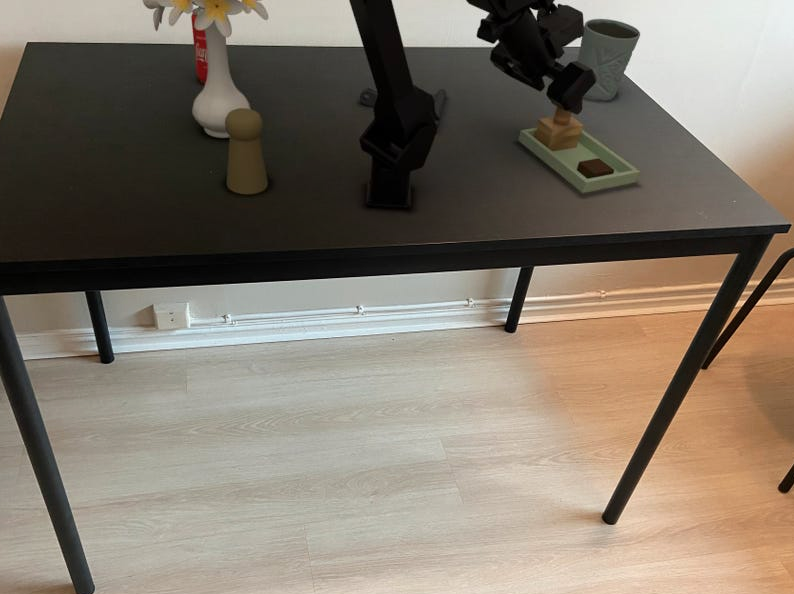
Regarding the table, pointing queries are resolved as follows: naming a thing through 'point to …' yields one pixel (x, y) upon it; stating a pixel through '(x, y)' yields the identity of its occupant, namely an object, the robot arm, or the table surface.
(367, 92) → the bracket
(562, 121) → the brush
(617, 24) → the grey-green cup
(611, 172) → the dark brown block
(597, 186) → the tray
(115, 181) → the table surface
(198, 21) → the flower vase
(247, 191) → the brown pawn
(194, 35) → the beverage can
